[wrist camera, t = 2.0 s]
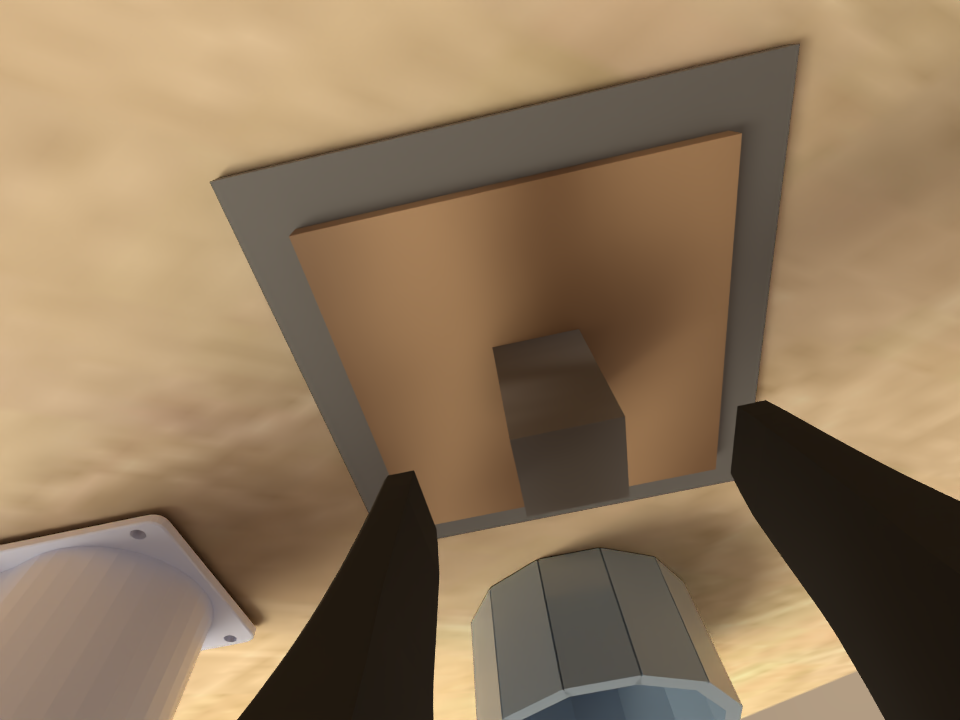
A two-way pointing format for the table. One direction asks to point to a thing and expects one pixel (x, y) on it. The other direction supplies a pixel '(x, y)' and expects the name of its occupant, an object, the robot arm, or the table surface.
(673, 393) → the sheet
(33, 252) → the table surface
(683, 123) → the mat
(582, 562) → the bowl
